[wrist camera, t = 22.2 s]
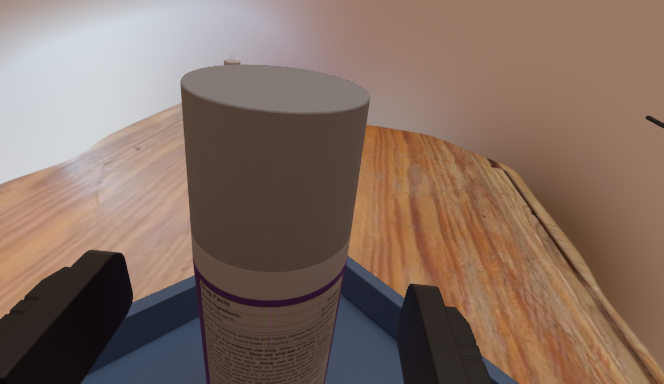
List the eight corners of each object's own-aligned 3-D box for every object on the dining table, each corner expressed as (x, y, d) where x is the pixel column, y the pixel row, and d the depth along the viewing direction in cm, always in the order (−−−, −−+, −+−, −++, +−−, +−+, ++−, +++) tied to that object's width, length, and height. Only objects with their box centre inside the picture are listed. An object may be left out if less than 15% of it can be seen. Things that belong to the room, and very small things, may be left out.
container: (242, 359, 18) (236, 56, 11) (328, 386, 17) (385, 81, 10) (189, 459, 14) (121, 85, 7) (298, 500, 13) (357, 130, 6)
